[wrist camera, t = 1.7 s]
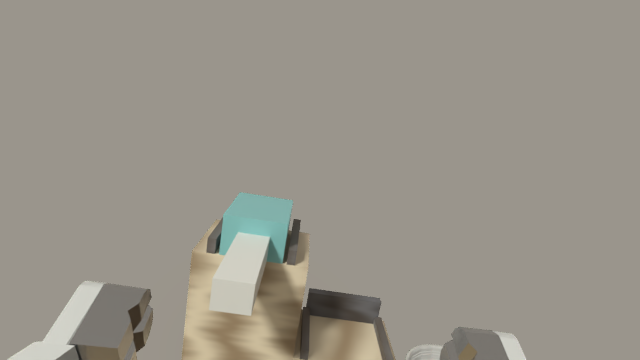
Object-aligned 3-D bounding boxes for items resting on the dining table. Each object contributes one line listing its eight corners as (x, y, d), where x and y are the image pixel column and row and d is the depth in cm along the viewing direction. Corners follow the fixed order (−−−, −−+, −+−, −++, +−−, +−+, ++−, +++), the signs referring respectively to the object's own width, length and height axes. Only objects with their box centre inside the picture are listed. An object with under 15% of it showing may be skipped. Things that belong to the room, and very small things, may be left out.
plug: (288, 233, 44) (293, 200, 43) (271, 318, 27) (279, 267, 26) (236, 225, 43) (240, 192, 42) (187, 307, 27) (192, 255, 26)
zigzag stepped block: (357, 437, 51) (402, 235, 45) (366, 508, 43) (424, 269, 36) (194, 417, 50) (217, 207, 44) (169, 486, 41) (193, 235, 35)
